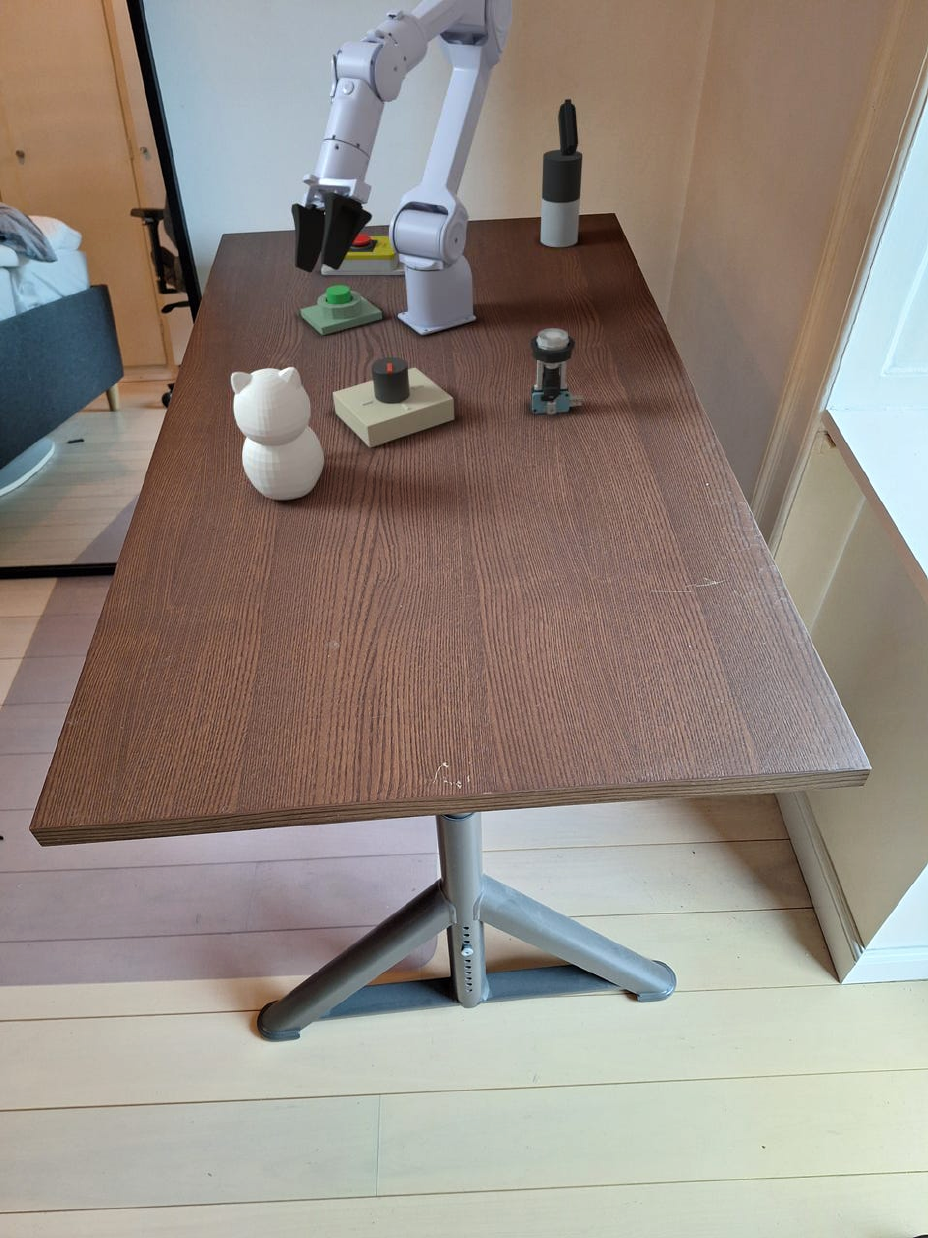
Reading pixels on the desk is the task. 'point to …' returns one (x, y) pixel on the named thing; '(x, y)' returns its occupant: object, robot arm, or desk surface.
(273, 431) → the cat figurine
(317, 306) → the switch block
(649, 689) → the desk surface
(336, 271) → the emergency button
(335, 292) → the light button
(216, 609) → the desk surface
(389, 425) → the dimmer panel
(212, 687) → the desk surface
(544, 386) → the push button
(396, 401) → the dimmer knob
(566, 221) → the track light
